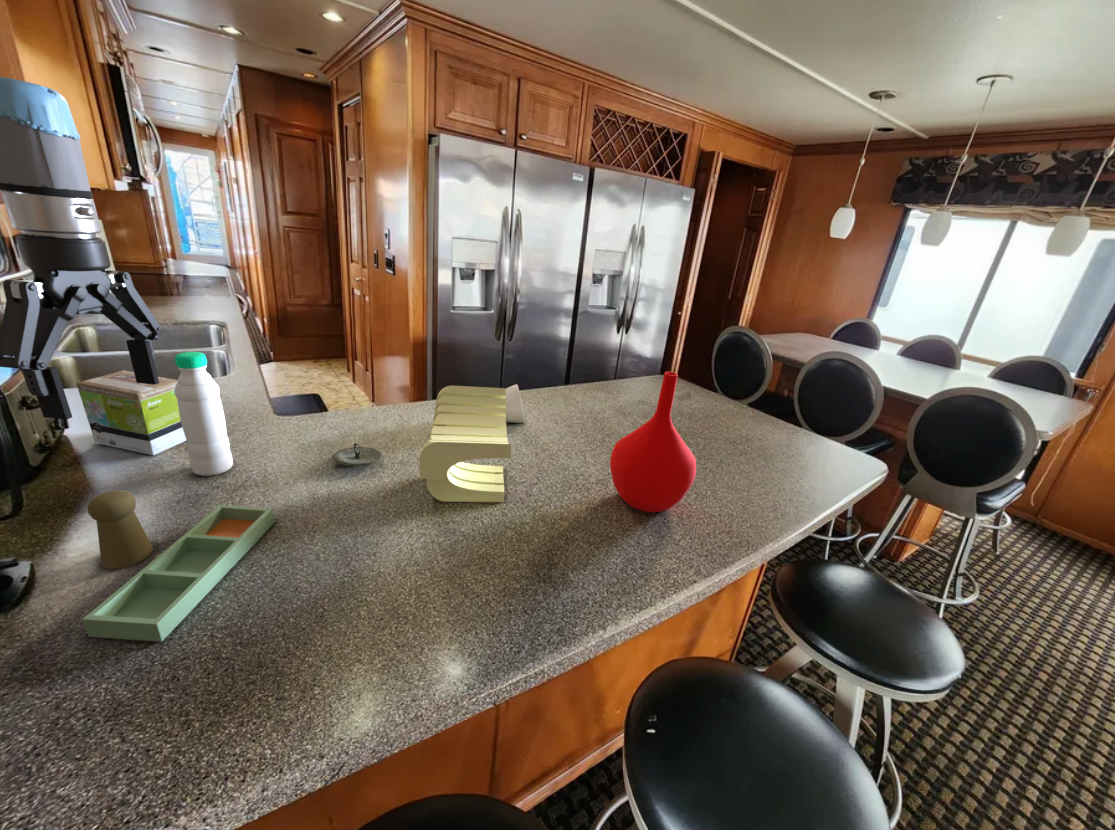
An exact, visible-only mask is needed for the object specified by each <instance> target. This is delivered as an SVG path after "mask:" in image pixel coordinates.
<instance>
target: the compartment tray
mask: <svg viewBox="0 0 1115 830" xmlns="http://www.w3.org/2000/svg"><path fill="white" fill-rule="evenodd" d="M274 524H275V518H274V511H273V508H265V507H252V506H244V505H243V506H242V505H241V506H240V505H230V504H218V506H217V507H215V508H214V509H213V510H212V511H211V512H209V513H208V514H207V515H206V516H205V517H204V518H202V519H201V520H200V521H198V522H197V523H196V524H195V525H194V526H193V527H192V528H190V529H189V530H188V531H187V532H185V534H183V535H182V536H180V537H179V538H178V539H177V540H176V541H174V543H172V544H171V545H170V546H168V547H167V548H166V549H165V550H164V551H162V552H161V553H160V554H159V555H158V556H156V557H155V558H154V559H152V561H151V562H149V563H148V564H147V565H146V566H145V567H143V568H142V569H141V570H139V571H138V572H137V573H136V574H135V575H134V576H132V577H131V578H130V579H129V580H128V581H126V582H125V583H124V584H122V585H121V586H120V587H119V588H118V589H116V591H114V592H113V593H112V594H110V595H109V596H108V597H107V598H106V599H105V600H103V601H102V602H101V603H100V604H99V605H97V606H96V607H95V608H94V609H93V610H91V611H90V612H89V613H88V614H87V615H85V616H84V617H83V618H82V619H81V620H82V623H83V626H84V628H85V631H86V634H87V636H88V638H100V639H101V638H102V639H115V640H116V639H117V640H128V641H129V640H131V641H145V642H161V643H162V642H163V641H164V640H165V639H166V638H167V637H168V636H169V635H170V634H171V633H172V632H173V631H174V630H175V628H177V626H178V625H179V624H180V623H181V622H182V621H183V620H184V619H185V618H186V617H188V615H189V614H190V613H192V611H193V609H194V608H196V607H197V606H198V604H199V603H200V602H201V601H202V600H203V599H204V598H205V597H206V596H207V595H208V594H209V593H210V592H211V590H213V589H214V587H215V586H216V585H217V584H219V582H220V581H221V580H222V579H223V578H224V577H225V576H226V575H227V574H228V573H229V572H230V571H231V569H232V568H233V567H235V565H236V564H237V563H238V562H239V561H240V560H241V559H242V558H243V557H244V556H245V555H246V554H247V553H248V552H249V550H250V549H251V548H252V547H253V546H254V545H255V544H256V543H257V542H258V541H259V540H260V539H261V538H262V537H263V536H264V535H265V534H266V533H267V531H269V529H270V528H271V527H272V526H273V525H274Z"/></svg>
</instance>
